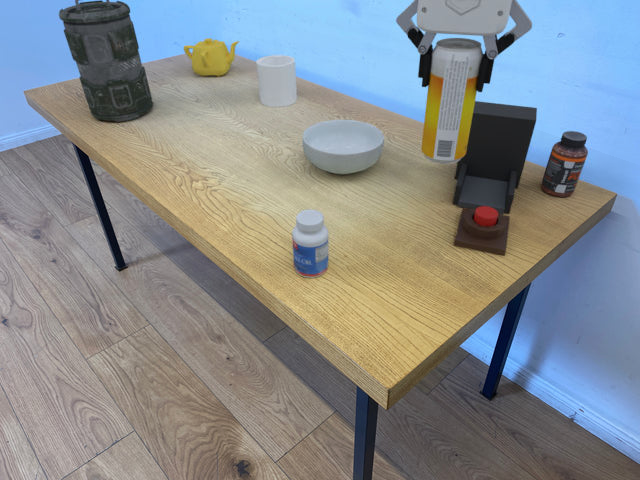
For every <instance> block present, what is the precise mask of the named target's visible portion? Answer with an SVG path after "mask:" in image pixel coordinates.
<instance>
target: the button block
mask: <svg viewBox="0 0 640 480" xmlns="http://www.w3.org/2000/svg"><path fill="white" fill-rule="evenodd" d="M476 209H477V208H476ZM476 209H469V208H463V207H462V209H461V214H460V218H459V221H458V225H457V229H456V233H455V237H454V241H453V246H454V247H458V248H459V247H460V248H464V249H468V250H474V251H478V252H479V251H480V252H484V253H488V254H494V255H499V256H505V255H506V252H507V247H508V236H509V228H510V220H511V219H510V217H511V216H509V215H504V214H500V213H498V217H497V221H496V224H495V225H494V226H488V227H487V226H482V225H479V224H477V223H475V221H474V215H475V210H476Z"/></svg>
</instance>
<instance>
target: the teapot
mask: <svg viewBox="0 0 640 480" xmlns="http://www.w3.org/2000/svg"><path fill="white" fill-rule="evenodd" d="M239 43H240V40H238V41H233V42H232V43H231V44H230V48H229V49H230V50H229V49H228V47H227V44H226V42H225V41H221V40H218V39H213V38H212V37H211V38H210V37H209V38H204V40H200V41H198V42H197V43H195V44H194V45H189V44H188V45H187V44H185V45H184V46H183V51H184V53H185V55H186V56H187V57H188V59H190V60H191V68H192V71H193V72H194V73H195V75H197V76H198V75H200V77H207V76H215V77H222V76H223V75H225V74H227V73H228V72H229V71H230V69H231V66H232V63H233V62H234V60H235V57H236V46H237V44H239ZM190 49H191V50H192V52H191V51H190Z"/></svg>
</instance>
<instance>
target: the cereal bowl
mask: <svg viewBox="0 0 640 480" xmlns="http://www.w3.org/2000/svg"><path fill="white" fill-rule="evenodd" d="M301 140H302V141H301V142H302V149H303V153H304V155H305V157H306V158H307V160H308V161H309V162H310V163H311V164H312V165H313V166H314V167H316V168H318V169H320V170H322V171H325V172H328V173H331V174H334V175H351V174H354V173H359V172H362V171H365V170H367V169H369V168H370V167H373V165H375V164H376V163H377V161H379V159H380V157H381V156H382V153H383V150H384V147H385V146H384V145H385V136H384V132H383V131H382V130H381V129H380V128H378V127H377V126H375V125H374V124H371V123H368V122H366V121H361V120H355V119H330V120H324V121H319V122H317V123H314V124H312V125H311V124H310V126H308V127H307V128H305V130H303V133H302V137H301Z"/></svg>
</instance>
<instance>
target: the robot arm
mask: <svg viewBox="0 0 640 480" xmlns="http://www.w3.org/2000/svg"><path fill="white" fill-rule="evenodd" d="M415 15H416V24H415V23H414V21H413V17H414V16H415ZM510 17H511V19H512V21H513V22H514V23H515V25H514V26H513V27H512V28H511V29H509V31H507V32H505V33H504V34H503V35H501V37H499V38H498V35H500V34H502V33H503V32H504V31H505V29H506V28H507V25H508V23H509V18H510ZM395 22H396V24H397V25H398V26H399V27H400V29H401V30H402V31H403V33H405V34H406V36H407V38H408V39H409V41H410V42H411V43H412V44H413V45H414V47H415V48H416V49H417V52H418V54H419V62H418V73H417V78H418V79H421V88H427V87H428V84H429V75H430V66H431V58H432V51H433V50H434V48H433V47H434V46H433V42H434V40H435V38H436V36H437V34H440V35H441V34H443V35H458V36H477V37H478V36H479V37H482V40H483V43H484V48H485V50H484V53H483V57H482V61H481V66H480V72H479V78H478V83H477V89H476V91H477V93H483V90H484V87H485V85H486V84H488V85H489V84H491V81H492V74H493V69H494V65H495V59H497V57H498V56H499V55H501V54H502V53H503V52H504V51H505V50H507V49H508V48H510V47H511V46H512V45H513V44H514V43H515V42H517V40H519V39H520V38H522V37H523V36H524V35H526V34H527V33H528V32H530V31H531V30H532V28H533V22H532V20H531V19H530V17H529V16H528V14H527V13H526V12H525V10H524V9H523V8H522V6H521V5H520V3H519V2H518V0H413V1H412V2H411V3H410V4H409V5H408V6H407V7H406V8H405V9H404V10H403V11H402V12H400V14H399V15H398V16H397V17H396V19H395ZM422 31H423V32H424V33H423V32H422Z"/></svg>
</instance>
